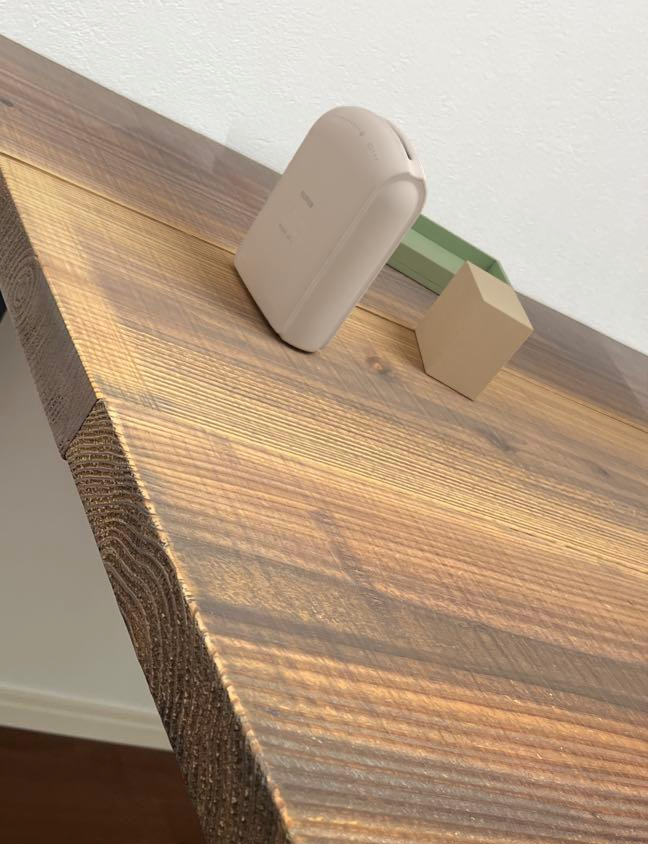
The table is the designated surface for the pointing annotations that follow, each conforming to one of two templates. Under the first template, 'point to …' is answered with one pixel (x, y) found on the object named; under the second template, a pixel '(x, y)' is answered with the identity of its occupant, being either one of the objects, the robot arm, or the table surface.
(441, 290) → the tray
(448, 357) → the block
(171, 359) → the table surface
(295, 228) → the photo printer
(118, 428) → the table surface
